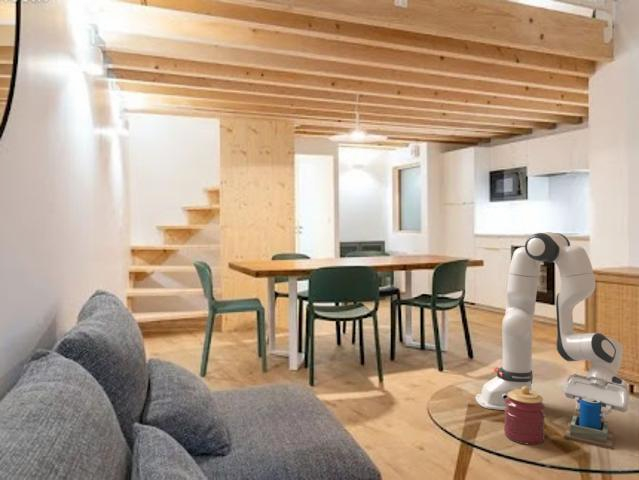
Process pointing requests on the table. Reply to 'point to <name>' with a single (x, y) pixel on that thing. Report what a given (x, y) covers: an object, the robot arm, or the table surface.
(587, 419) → the beverage can
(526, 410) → the canister
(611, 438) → the cradle
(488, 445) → the table surface
